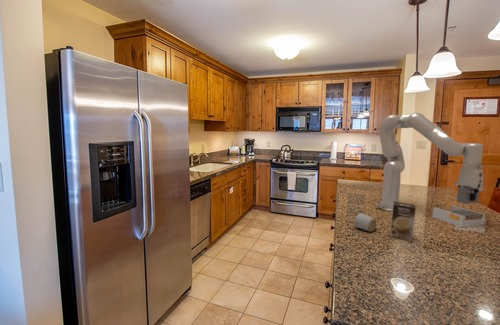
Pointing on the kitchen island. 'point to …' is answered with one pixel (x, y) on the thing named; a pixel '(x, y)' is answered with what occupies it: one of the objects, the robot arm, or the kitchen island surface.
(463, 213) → the rack
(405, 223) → the coffee box
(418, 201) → the kitchen island surface
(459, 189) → the panel
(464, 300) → the kitchen island surface
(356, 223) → the grey short cylinder
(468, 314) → the kitchen island surface
